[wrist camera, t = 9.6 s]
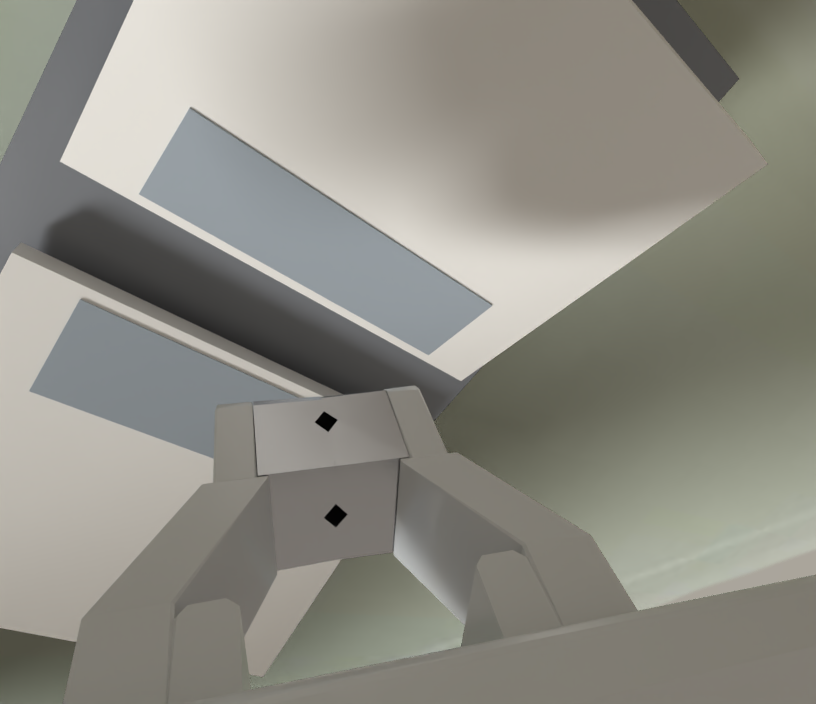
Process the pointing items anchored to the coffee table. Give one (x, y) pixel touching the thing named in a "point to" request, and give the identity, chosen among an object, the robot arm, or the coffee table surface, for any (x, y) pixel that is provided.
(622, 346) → the coffee table surface
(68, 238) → the switch console
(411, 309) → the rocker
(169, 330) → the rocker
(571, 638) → the robot arm
